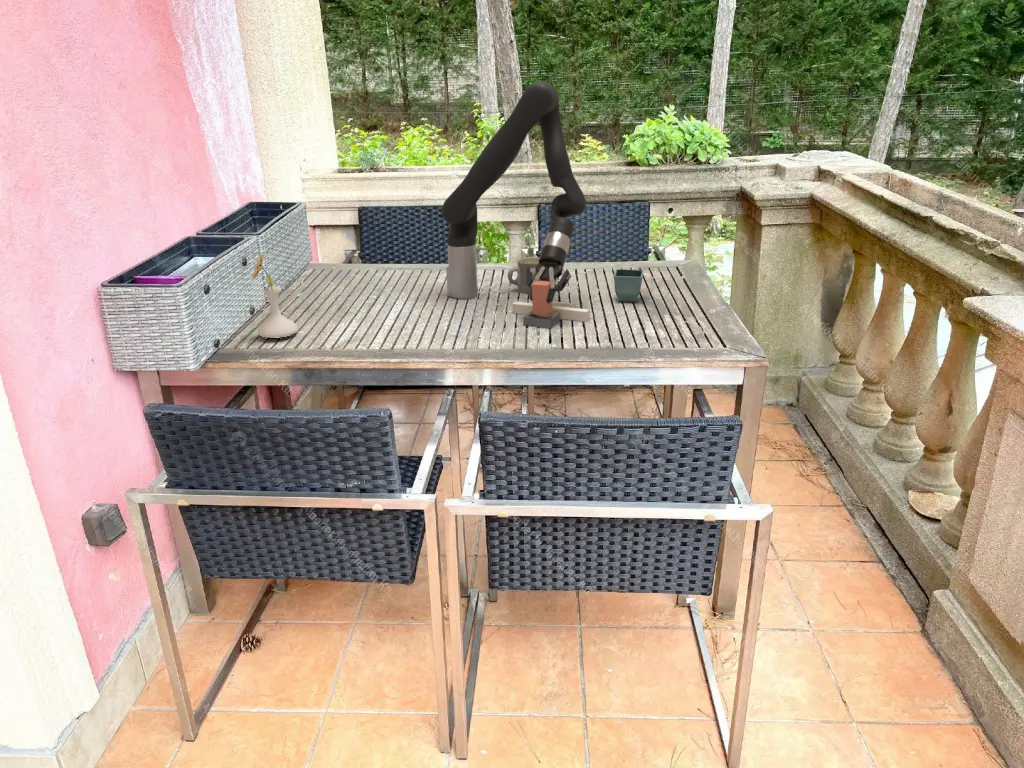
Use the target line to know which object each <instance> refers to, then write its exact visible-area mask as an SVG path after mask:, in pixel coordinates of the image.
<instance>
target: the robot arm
mask: <svg viewBox="0 0 1024 768" xmlns="http://www.w3.org/2000/svg"><path fill="white" fill-rule="evenodd" d="M560 112H561V111H560V103H559V95H558V91H557V90H556V87H555V86H554V85H552V84H551V83H549V82H548V81H547V82H546V81H540V82H533V83H532V84H530V85H528V86H527V87H526V89H525V90H524V91H523V93H522V95H521V97H520V98H519V100H518V101H517V103H516V105H515V107H514V108H513V111H512V112H511V114H510V115H509V116H508V118H507V119H506V120H505V122H504V123H503V124H502V125H501V126H500V127H499V129H498V130H497V131H496V133H494V135H493V136H492V138H491V139H490V140H488V141H489V142H488V143H486V146H485V147H484V148H483V150H482V151H481V152H480V153H479V156H478V157H477V159H476V160H475V162H474V163H473V165H472V166H471V168H470V169H469V171H468V173H467V174H466V176H465V177H464V179H463V180H462V181H461V183H460V184H459V185H458V186H457V187H456V188H455V190H453V191H452V193H451V194H450V195H449V196H448V197H447V198H446V199H445V201H444V202H443V205H442V209H441V212H442V217H443V219H444V221H445V222H446V223H447V224H450V227H449V232H448V234H447V236H446V241H447V258H448V259H447V260H448V261H447V262H448V267H446V269H445V271H446V272H445V274H446V289H447V297H450V296H451V298H452V297H453V299H456V298H458V300H467V299H474V298H476V297H477V296H478V293H479V289H478V266H477V265H478V263H477V261H478V260H477V259H478V258H477V240H476V239H477V236H478V235H477V234H478V205H477V202H478V201H479V200H480V198H481V197H482V196H483V195H484V194H485V192H486V191H488V190H489V189H490V188H491V187H492V186H493V185H494V184H496V182H497V181H498V180H499V179H500V178H501V177H503V175H504V174H505V173H506V171H507V170H508V169H510V168H509V167H510V166H511V165H512V164H513V162H514V160H515V159H516V158H517V156H518V154H519V152H520V150H521V148H522V147H523V144H524V141H525V140H526V138H527V136H528V135H529V133H530V131H531V130H532V129H533V128H534V127H535V126H536V124H537V123H538V124H539V126H540V129H541V135H542V141H543V142H542V143H543V152H544V153H543V155H544V159H545V160H544V161H545V165H546V169H547V172H548V177H549V180H550V183H551V186H553V187H554V188H561V189H562V190H563V191H564V192H565V193H560V194H557V195H556V196H555V197H554V198H553V200H552V201H551V204H550V225H549V229H548V231H547V232H548V233H547V236H546V237H545V240H544V243H543V246H542V249H541V252H540V256H539V257H540V259H539V263H538V265H537V266H536V268H531V269H530V267H527V269H526V284H527V285H528V287H529V288H531V291H530V293H528V298H529V299H530V301H531V302H532V300H533V297H532V284H533V283H535V282H536V281H550V282H551V285H550V289H549V292H548V295H547V298H546V301H547V303H551V302H552V301H554V298H555V295H556V292H563V290H564V289H565V287H566V285H567V284H568V282H569V281H570V279H571V277H572V276H571V273H570V271H569V270H567V269H566V270H564V266H565V262H566V259H567V256H568V253H569V248H570V243H571V240H572V235H573V234H574V233H573V232H574V228H575V225H574V223H573V221H572V220H571V219H570V218H569V217H574V216H578V215H581V214H583V213H584V212H585V210H586V206H587V202H586V201H587V200H586V197H585V194H584V193H583V191H582V189H581V187H580V185H579V184H578V182H577V180H576V178H575V176H574V173H573V169H572V165H571V162H570V157H569V154H568V150H567V146H566V142H565V137H564V133H563V129H562V128H563V127H562V124H561V123H562V122H561V113H560ZM535 272H537V275H536V277H535V280H534V282H533V276H534V274H535ZM559 277H561V278H560V279H559V281H557V279H558V278H559Z"/></svg>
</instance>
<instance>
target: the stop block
mask: <svg viewBox="0 0 1024 768" xmlns="http://www.w3.org/2000/svg"><path fill="white" fill-rule="evenodd" d="M550 285H551V282H550V281H536V282H535V283H533V284H532V297H533V300H532V301H531V303H532V304H533V314H536V315H545V316H547V315H548V314H550V313H551V312H552V311H553V301H554V300H553V301H552V302H551V303H547V301H546V298H547V295H548V292H549V289H550Z"/></svg>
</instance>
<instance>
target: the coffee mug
mask: <svg viewBox="0 0 1024 768" xmlns="http://www.w3.org/2000/svg"><path fill="white" fill-rule="evenodd" d="M539 259H540V256H539V257H538V256H529V257H527V256H526V257H522V258H521V257H520V258H518V259H517V266H513V267H510V268H509V269H508V272H507V280H508V282H509V283H510V284H511V285H514V286H516V287H517V291H518V292H520V293H522V292H523V294H530V291H531V288H529V287H528V285H527V284H526V269H527V267H530V269H531V268H536V266H537V265H538V263H539ZM514 272H516V274H517V277H516V279H513V277H512V276H513V273H514ZM536 275H537V272H535V274H534V276H533V282H534V280H535V277H536Z"/></svg>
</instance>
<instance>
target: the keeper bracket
mask: <svg viewBox="0 0 1024 768" xmlns="http://www.w3.org/2000/svg"><path fill="white" fill-rule="evenodd" d="M522 320H523V323H522V325H523V326H526V325H527V326H528V327H534V328H535V327H536V328H542V327H543V329H544V328H545V329H552V328H553V327H554V326H556V325H557V324H558V323H559V322H560V321H561V319H560V312H556V313H555V314H554V315H553V316H551V317H548V318H546V317H538V316H537V315H536V314H533V310H532V311H531V312H529V313H528V314H527V315H524V316H523V317H522Z"/></svg>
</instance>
